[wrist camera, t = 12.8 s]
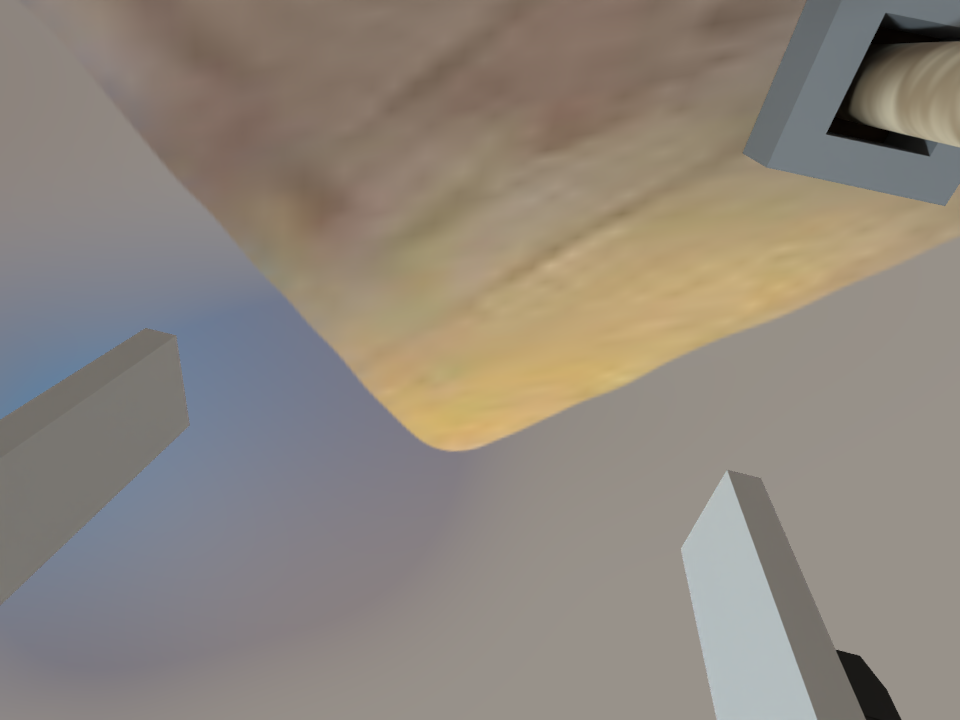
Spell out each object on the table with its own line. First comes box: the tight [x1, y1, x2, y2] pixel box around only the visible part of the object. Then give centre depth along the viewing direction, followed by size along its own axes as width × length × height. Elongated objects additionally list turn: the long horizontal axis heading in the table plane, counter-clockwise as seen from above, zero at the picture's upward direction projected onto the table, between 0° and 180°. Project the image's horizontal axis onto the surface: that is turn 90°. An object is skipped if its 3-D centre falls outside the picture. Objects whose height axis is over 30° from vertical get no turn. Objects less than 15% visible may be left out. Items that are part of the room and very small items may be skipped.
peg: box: [835, 41, 960, 147], centre depth 24 cm, size 4×4×16 cm
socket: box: [743, 0, 960, 206], centre depth 29 cm, size 10×10×5 cm
